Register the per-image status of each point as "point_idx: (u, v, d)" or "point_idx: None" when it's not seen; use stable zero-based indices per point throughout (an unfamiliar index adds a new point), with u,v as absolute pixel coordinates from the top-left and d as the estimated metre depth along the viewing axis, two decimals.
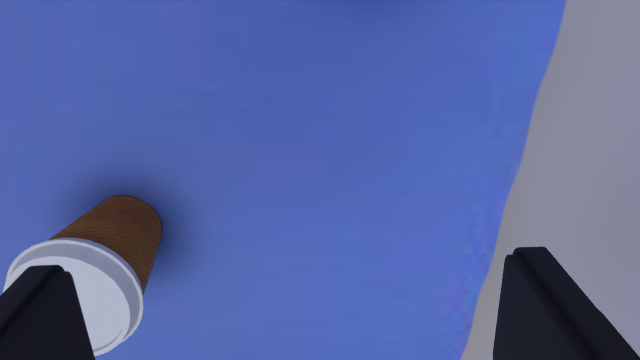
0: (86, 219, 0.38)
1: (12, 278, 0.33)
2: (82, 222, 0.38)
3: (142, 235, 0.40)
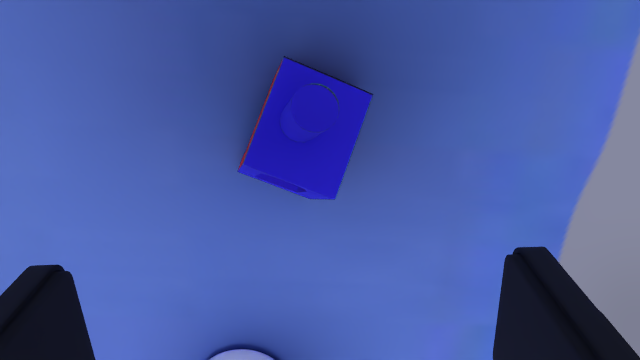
0: None
1: None
2: None
3: None
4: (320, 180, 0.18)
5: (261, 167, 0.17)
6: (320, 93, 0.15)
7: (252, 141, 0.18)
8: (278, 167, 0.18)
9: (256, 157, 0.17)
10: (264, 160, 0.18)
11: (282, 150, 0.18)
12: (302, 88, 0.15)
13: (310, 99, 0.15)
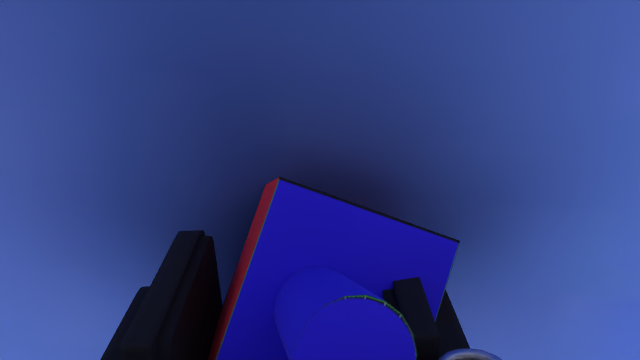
0: None
1: None
2: None
3: None
4: None
5: None
6: (368, 320, 0.06)
7: None
8: None
9: None
10: None
11: None
12: (323, 310, 0.06)
13: (345, 338, 0.06)
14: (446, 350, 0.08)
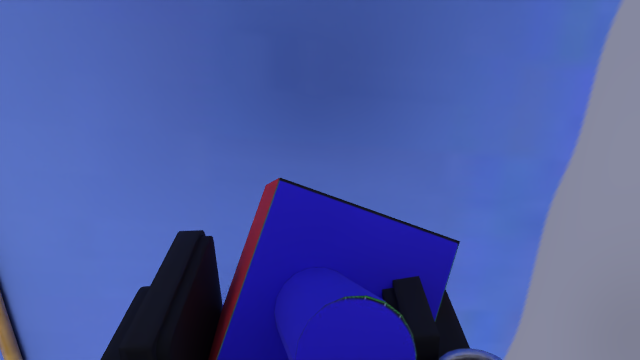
0: None
1: None
2: None
3: None
4: None
5: None
6: (369, 320, 0.06)
7: None
8: None
9: None
10: None
11: None
12: (323, 311, 0.06)
13: (345, 338, 0.06)
14: (446, 350, 0.08)
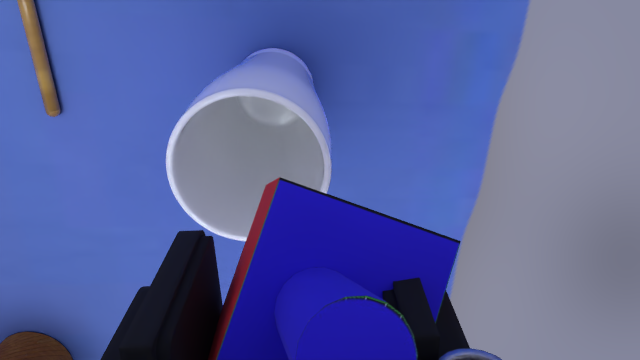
0: None
1: None
2: None
3: None
4: None
5: None
6: (369, 320, 0.06)
7: None
8: None
9: None
10: None
11: None
12: (323, 311, 0.06)
13: (345, 339, 0.06)
14: (446, 350, 0.08)
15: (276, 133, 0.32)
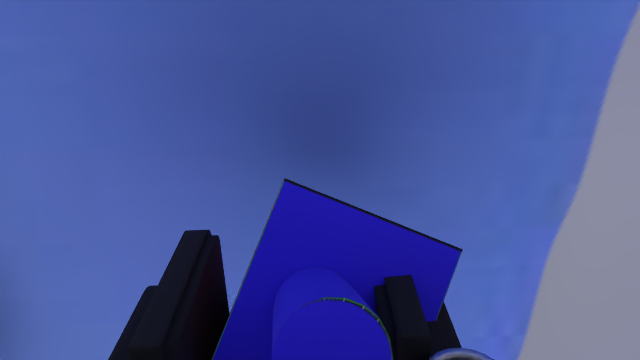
0: None
1: None
2: None
3: None
4: None
5: None
6: (346, 322, 0.06)
7: (217, 351, 0.09)
8: None
9: None
10: None
11: None
12: (302, 310, 0.06)
13: (322, 337, 0.06)
14: (438, 349, 0.08)
15: None
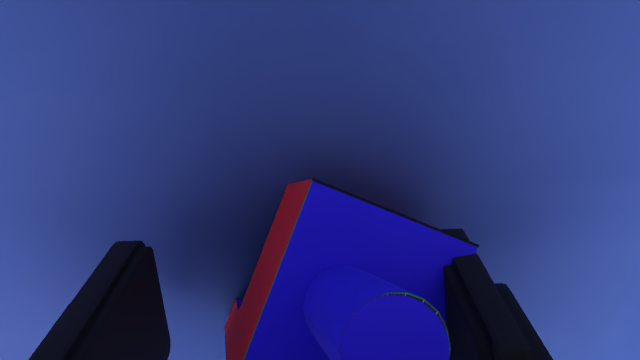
0: None
1: None
2: None
3: None
4: None
5: None
6: (408, 315, 0.06)
7: (248, 352, 0.09)
8: None
9: None
10: None
11: None
12: (366, 305, 0.06)
13: (386, 331, 0.06)
14: None
15: None
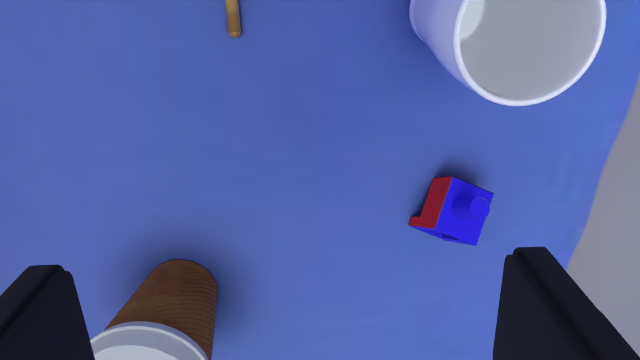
0: (150, 293, 0.37)
1: None
2: (147, 298, 0.37)
3: (205, 306, 0.39)
4: (469, 236, 0.37)
5: (443, 230, 0.37)
6: (481, 201, 0.34)
7: (438, 217, 0.37)
8: (450, 230, 0.37)
9: (440, 225, 0.37)
10: (444, 227, 0.37)
11: (452, 222, 0.37)
12: (474, 199, 0.34)
13: (477, 204, 0.34)
14: None
15: None
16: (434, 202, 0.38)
